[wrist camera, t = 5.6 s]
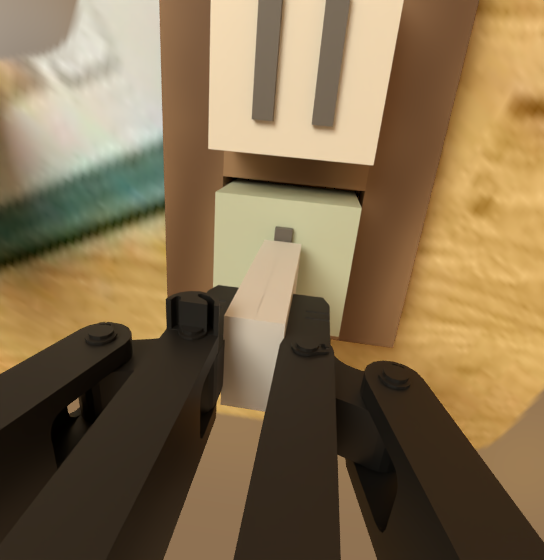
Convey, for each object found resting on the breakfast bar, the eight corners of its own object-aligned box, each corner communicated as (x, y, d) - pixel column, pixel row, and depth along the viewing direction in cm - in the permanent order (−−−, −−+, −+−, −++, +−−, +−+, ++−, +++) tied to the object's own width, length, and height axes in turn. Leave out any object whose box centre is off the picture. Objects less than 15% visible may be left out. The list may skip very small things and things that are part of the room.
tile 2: (233, 143, 17) (205, 149, 13) (240, -13, 15) (208, -63, 11) (362, 156, 16) (374, 166, 13) (390, -4, 14) (414, -53, 10)
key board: (181, 300, 22) (168, 316, 20) (173, -330, 13) (148, -406, 11) (387, 328, 21) (392, 348, 19) (543, -336, 12) (583, -420, 10)
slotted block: (232, 285, 21) (210, 322, 17) (237, 178, 19) (213, 193, 15) (336, 298, 20) (338, 340, 17) (354, 191, 18) (362, 209, 14)
